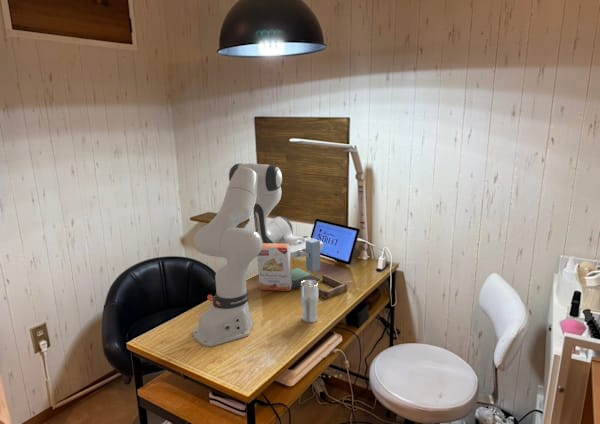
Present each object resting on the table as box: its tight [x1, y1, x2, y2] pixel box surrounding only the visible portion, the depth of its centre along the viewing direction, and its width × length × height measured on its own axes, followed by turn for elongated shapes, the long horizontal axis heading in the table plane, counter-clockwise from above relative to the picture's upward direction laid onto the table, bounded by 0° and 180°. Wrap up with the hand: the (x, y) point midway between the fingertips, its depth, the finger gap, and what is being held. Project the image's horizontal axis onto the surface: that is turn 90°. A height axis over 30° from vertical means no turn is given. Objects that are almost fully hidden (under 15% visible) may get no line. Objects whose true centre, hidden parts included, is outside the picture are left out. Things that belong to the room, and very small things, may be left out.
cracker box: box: [256, 243, 293, 292], centre depth 184 cm, size 14×6×21 cm, turn 80°
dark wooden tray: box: [318, 274, 348, 300], centre depth 185 cm, size 12×15×3 cm
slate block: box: [305, 237, 321, 273], centre depth 188 cm, size 5×5×14 cm
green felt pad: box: [291, 267, 313, 283], centre depth 201 cm, size 11×11×1 cm
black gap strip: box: [290, 275, 320, 290], centre depth 192 cm, size 16×5×1 cm, turn 129°
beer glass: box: [299, 280, 320, 323], centre depth 158 cm, size 7×7×15 cm
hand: (314, 253), depth 187 cm, fingers closed on slate block, 5 cm apart
